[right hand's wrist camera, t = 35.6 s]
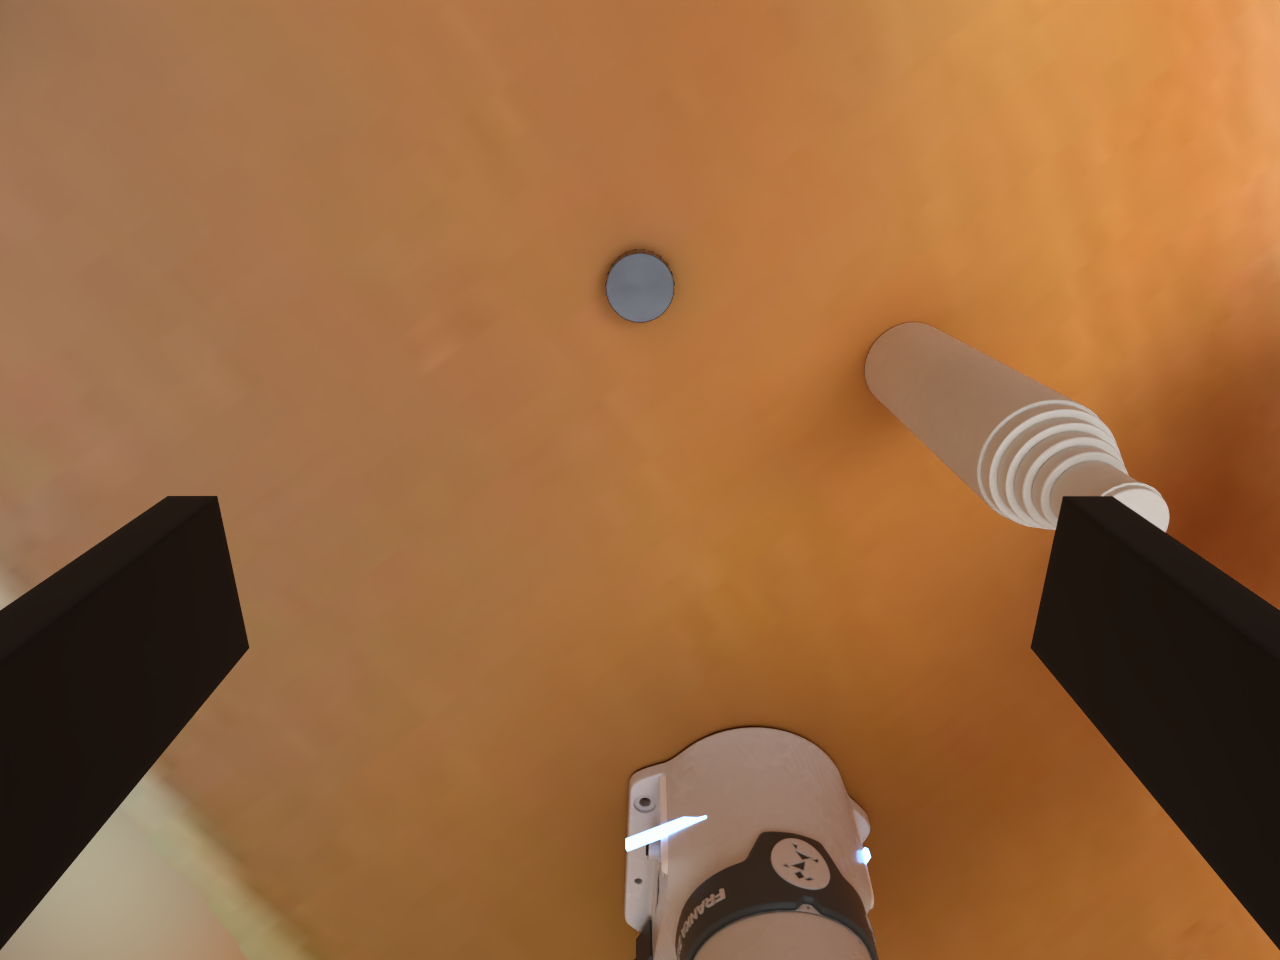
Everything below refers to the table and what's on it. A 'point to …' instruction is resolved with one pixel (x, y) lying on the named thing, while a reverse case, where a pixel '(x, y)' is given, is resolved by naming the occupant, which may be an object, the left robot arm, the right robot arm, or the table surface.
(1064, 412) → the bottle
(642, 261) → the cap
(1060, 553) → the right robot arm
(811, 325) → the table surface
